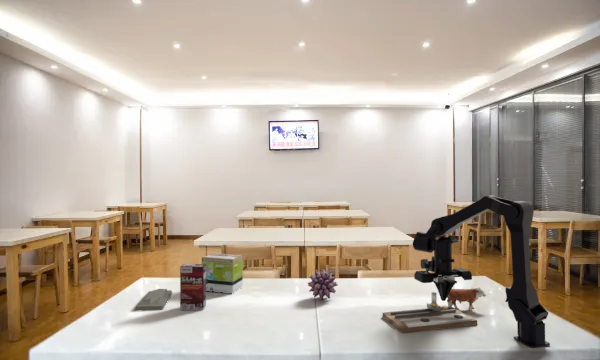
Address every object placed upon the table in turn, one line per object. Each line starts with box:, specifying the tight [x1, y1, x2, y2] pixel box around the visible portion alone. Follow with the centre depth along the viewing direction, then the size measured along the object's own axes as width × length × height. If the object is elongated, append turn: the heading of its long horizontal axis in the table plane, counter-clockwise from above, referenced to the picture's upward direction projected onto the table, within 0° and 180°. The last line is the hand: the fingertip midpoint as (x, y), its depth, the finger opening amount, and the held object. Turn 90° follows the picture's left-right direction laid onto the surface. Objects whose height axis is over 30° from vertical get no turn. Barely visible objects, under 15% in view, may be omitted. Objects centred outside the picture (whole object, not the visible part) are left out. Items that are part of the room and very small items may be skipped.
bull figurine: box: [446, 286, 487, 311], centre depth 137 cm, size 4×13×8 cm, turn 78°
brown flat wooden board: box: [382, 305, 478, 334], centre depth 125 cm, size 14×26×3 cm, turn 103°
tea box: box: [201, 252, 244, 294], centre depth 165 cm, size 15×10×15 cm
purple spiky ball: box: [307, 268, 339, 300], centre depth 150 cm, size 12×12×12 cm
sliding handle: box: [426, 291, 442, 311], centre depth 129 cm, size 4×3×5 cm
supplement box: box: [179, 263, 207, 311], centre depth 141 cm, size 9×5×16 cm, turn 91°
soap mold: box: [134, 288, 173, 312], centre depth 149 cm, size 10×20×4 cm, turn 8°
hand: (443, 300), depth 130 cm, fingers closed
